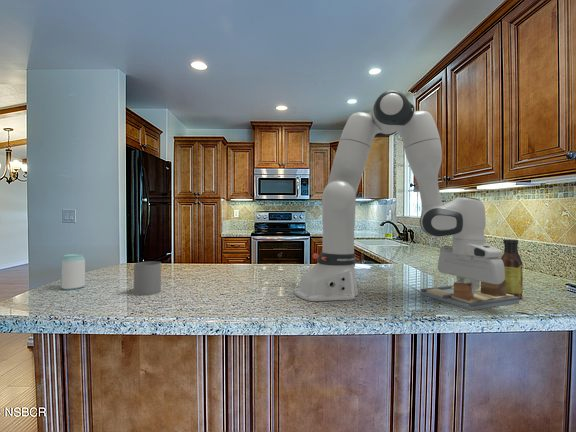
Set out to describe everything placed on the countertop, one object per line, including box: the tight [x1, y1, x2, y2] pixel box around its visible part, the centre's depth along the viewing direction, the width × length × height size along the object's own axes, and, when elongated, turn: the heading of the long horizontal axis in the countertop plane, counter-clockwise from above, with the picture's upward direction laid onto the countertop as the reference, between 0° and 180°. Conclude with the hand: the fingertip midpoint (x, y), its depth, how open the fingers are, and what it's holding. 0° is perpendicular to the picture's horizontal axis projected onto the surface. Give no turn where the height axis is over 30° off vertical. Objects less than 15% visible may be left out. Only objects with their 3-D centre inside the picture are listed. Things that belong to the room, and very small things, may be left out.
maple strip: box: [451, 281, 514, 303], centre depth 98 cm, size 20×7×5 cm, turn 112°
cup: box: [133, 260, 162, 297], centre depth 104 cm, size 8×8×10 cm
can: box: [60, 253, 86, 291], centre depth 108 cm, size 7×7×12 cm
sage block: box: [456, 278, 480, 290], centre depth 108 cm, size 5×5×5 cm
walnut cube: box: [480, 280, 506, 297], centre depth 99 cm, size 5×5×5 cm
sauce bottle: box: [500, 238, 524, 299], centre depth 104 cm, size 7×6×20 cm
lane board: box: [420, 284, 520, 311], centre depth 101 cm, size 22×19×2 cm
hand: (467, 292), depth 95 cm, fingers closed on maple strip
